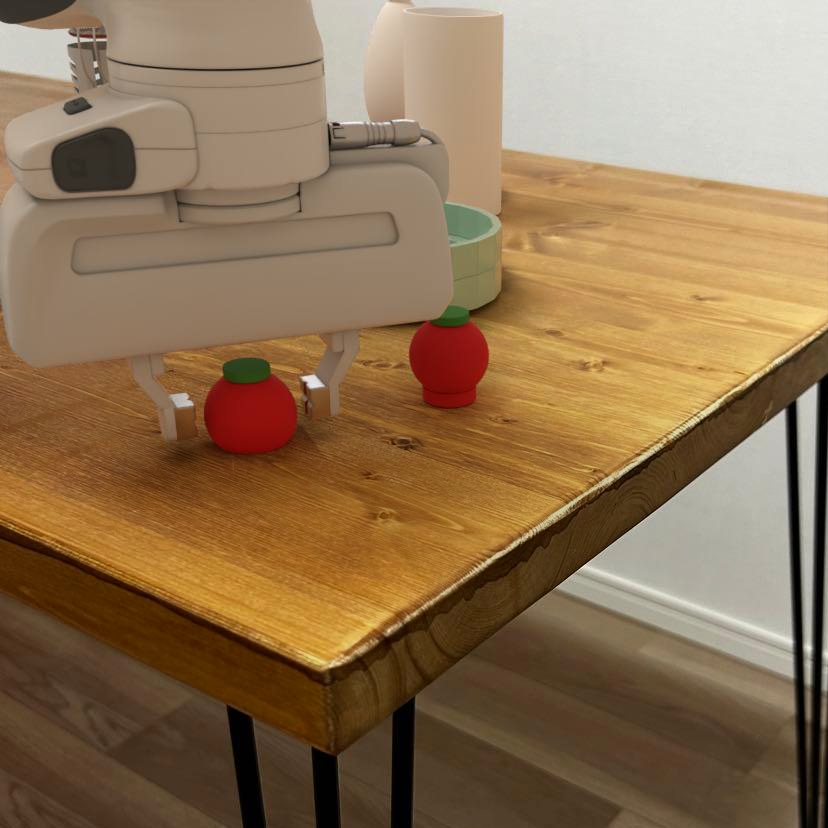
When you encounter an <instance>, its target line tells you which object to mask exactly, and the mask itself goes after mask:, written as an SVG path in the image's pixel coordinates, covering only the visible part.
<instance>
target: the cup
mask: <svg viewBox="0 0 828 828" xmlns="http://www.w3.org/2000/svg"><path fill="white" fill-rule="evenodd" d="M416 7H417V8H409V9H404V10H403V51H404V93H405V119H408V120H414V121H417V122H418V123H419V125H420V128H425V129H428V130H430V131H431V132H433V133H435V134H436V135H437V136H438V137H439V138H440V139H441V141H442V142H443V144H444V145H445V148H446V150H447V153H448V157H449V193H448V197H447V200H446V201H450V202H456V203H462V204H466V205H470V206H473V207H477V208H480V209H483V210H486V211H488V212H490V213H491V214H493V215H495V216H498V215H499V214H500V213H501V212H502V173H503V172H502V170H503V167H502V166H503V163H502V161H503V102H504V101H503V99H504V98H503V93H504V92H503V91H504V27H505V26H504V25H505V24H504V21H505V19H504V12H503V11H500V10H496V9H491V8H480V7H469V6H468V7H466V6H416ZM423 142H430V141H429V140H428V139H426V138H423V137H421V138H420V140H419V142H417V143H423Z"/></svg>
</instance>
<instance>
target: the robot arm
mask: <svg viewBox="0 0 828 828" xmlns="http://www.w3.org/2000/svg"><path fill="white" fill-rule="evenodd" d="M0 22H1V23H3V24H8V25H18V26H22V27H26V28H31V29H38V30H49V31H50V30H51V31H52V30H67V29H68V30H69V29H70V28H79V29H80V28H85V27H86V28H87V27H89V28H90V27H92V28H93V27H95V28H96V27H97V26H104V27H105V30H106V35H107V39H106V41H107V49H106V56H107V65H108V72H109V80H110V82H109V83H106V84H104V85H99V86H97V87H96V88H93V89H91V90H88V91H86V92H83V93H80V94H78V95H73V96H70V97H67V98H65V99H62V100H59V101H56V102H54V103H51V104H48V105H46V106H43V107H40V108H37V109H34V110H31V111H29V112H26V113H24V114H22V115H19V116H17V117H15V118H13V119H11V121H9V122H8V124H7V125H6V128H5V131H4V137H3V144H4V153H5V157H6V161H7V163H8V167H9V169H10V172H11V174H12V175H13V177H14V178H15V180H16V182H15V183H13V184H12V185H11V187H10V188H9V189H8V190H7V191H6V193H5V195H4V197H3V199H2V201H1V204H0V303H1V310H2V317H3V322H4V327H5V332H6V337H7V342H8V344H9V347H10V350H11V351H12V352H13V353H14V354H15V355H16V356H17V357H19V359H21V360H22V361H23V362H24V363H26V364H28V365H29V366H30V367H32V368H34V369H38V370H40V369H41V370H43V369H50V368H59V367H66V366H74V365H82V364H89V363H91V364H92V363H98V362H107V361H115V360H123V359H125V365H126V367H127V368H128V371H129V372H130V375H131V377H132V378H133V380H134V381H135V382H136V383H137V385H138V386H139V387H140V389H141V390H142V391H143V392H144V393H145V394H146V396H148V398H149V399H150V401H152V402H153V403H154V405H155V406H156V410H157V417H158V425H159V428H160V433H161V435H162V437H163V439H164V441H165V443H171V442H177V441H182V440H188V439H194V438H198V437H199V431H198V430H199V429H198V425H197V424H196V423H195V421H196V420H197V414H196V406H195V403H194V402H193V400H191V398H190V395H189V394H188V392H180V393H178V392H177V393H169V392H168V390H167V389H166V388H165V387H164V386H163V384H162V382H160V381H159V380H158V378H157V377H160V376H163V375H164V374H165V372H166V370H165V361H164V354H170V353H178V352H187V351H195V350H202V349H209V348H210V349H211V348H219V347H228V346H235V345H242V344H251V343H258V342H259V343H260V342H267V341H275V340H282V339H291V338H297V337H306V336H307V337H308V336H314V335H318V337H319V339H320V340H321V341H322V342H323V343H324V344H325V345H326V348H325V350H324V352H323V355H322V356H321V359H320V361H319V363H318V366H317V368H316V370H315V372H314V373H313V374H308V375H303V376H299V389H300V390H301V392H302V394H301V397H300V402H301V407H302V411H303V413H304V414H305V415H306V416H307V418H308V419H309V420H310V421H312V420H313V421H314V420H319V419H327V418H333V417H338V416H340V413H341V405H340V404H341V403H340V400H341V399H340V385H342V383H343V381H344V380H345V378H346V376H347V374H348V372H349V371H350V369H351V367H352V365H353V363H354V361H355V359H356V357H357V356H358V354H359V352H360V330H362V329H371V328H378V327H379V328H380V327H387V326H393V325H403V324H410V323H419V322H426V321H428V320H434V319H438V318H439V317H441V315H442V314H443V312H444V311H445V310H446V308H447V306H448V305H449V303H450V302H451V300H452V298H453V293H454V289H453V271H452V259H451V250H450V243H449V236H448V230H447V224H446V218H445V213H444V209H443V206H444V204H445V202H446V200H447V197H448V193H449V157H448V153H447V150H446V148H445V145H444V144H443V142H442V141H441V139H440V138H439V137H438V136H437V135H436V134H435V133H433V132H431V131H430V130H428V129H425V128H420V125H419V123H418V122H417V121H414V120H408V119H396V120H390V121H389V122H382V123H371V121H370V122H369V121H333V122H328V108H327V106H328V105H327V90H326V88H327V87H326V72H325V57H324V56H325V52H324V45H323V42H322V37H321V34H320V31H319V28H318V25H317V22H316V19H315V15H314V10H313V3H312V0H0ZM421 137H423V138H426V139H428V140H429V141H430V142H423V143H417V142H419V140H420V138H421ZM387 144H390V145H387Z"/></svg>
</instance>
